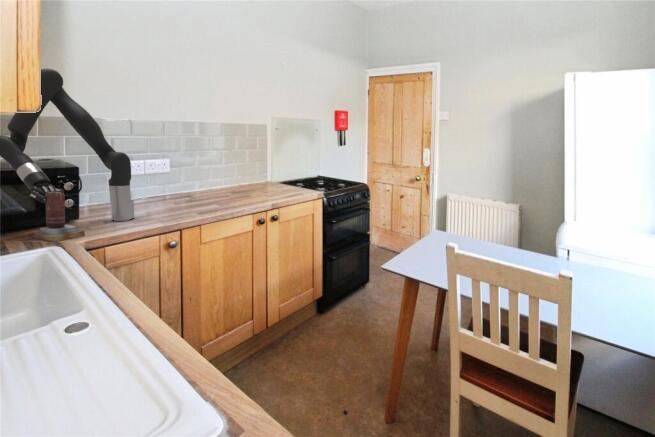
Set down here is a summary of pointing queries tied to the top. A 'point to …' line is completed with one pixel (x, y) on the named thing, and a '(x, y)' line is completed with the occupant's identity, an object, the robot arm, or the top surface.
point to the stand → (59, 233)
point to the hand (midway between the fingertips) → (61, 209)
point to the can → (55, 209)
